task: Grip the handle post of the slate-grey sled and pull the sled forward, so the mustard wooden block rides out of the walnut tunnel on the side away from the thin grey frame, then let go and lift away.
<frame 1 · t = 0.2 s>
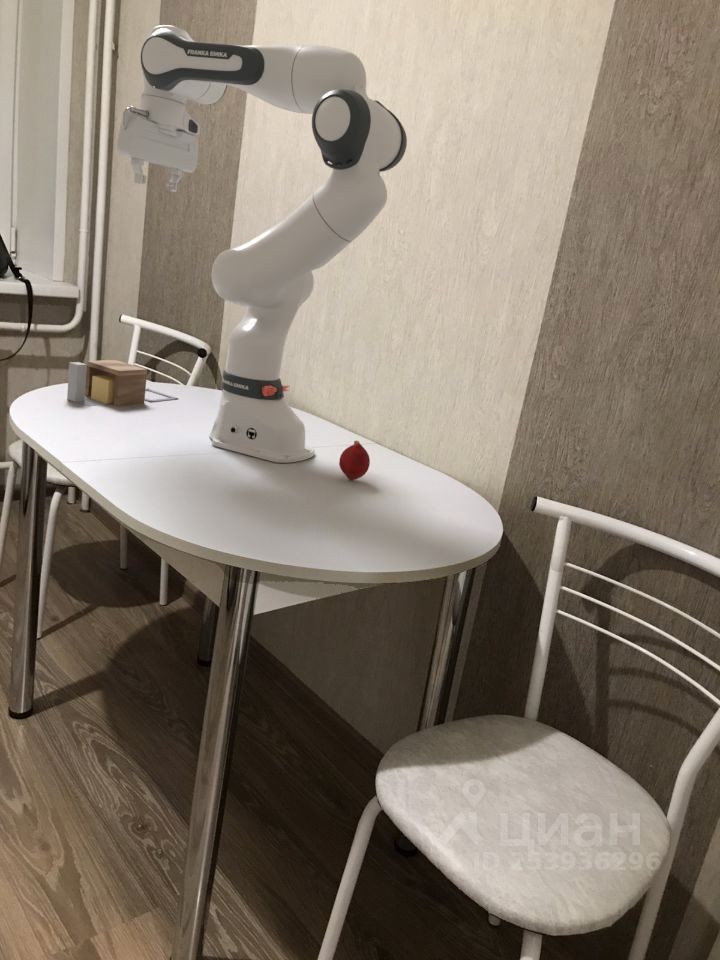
hand: (155, 187, 156), 47 cm above the table, tool pointing down, fingers open, 8 cm apart
tunnel: (114, 404, 166), on the table
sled: (106, 384, 163), point 5 cm above the table, slide at 0.0 cm, touching block
block: (107, 399, 164), point 1 cm above the table, touching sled
onion: (351, 481, 142), on the table
thin grey frame: (148, 400, 175), on the table
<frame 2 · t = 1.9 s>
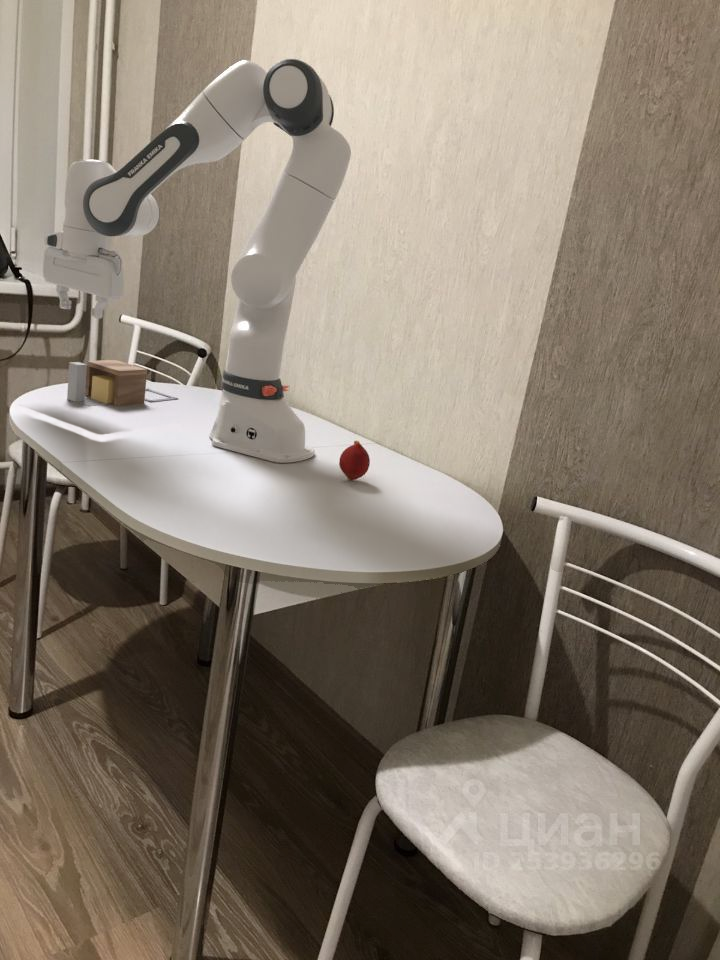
hand: (80, 313, 154), 20 cm above the table, tool pointing down, fingers open, 8 cm apart
nothing on the table moved.
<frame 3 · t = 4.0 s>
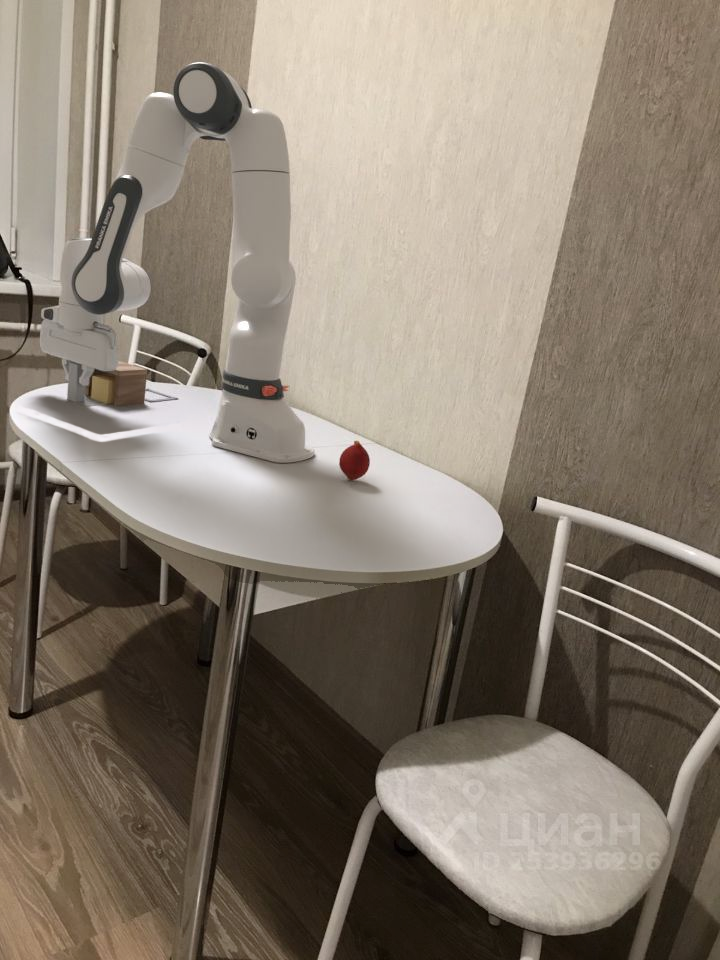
hand: (76, 382, 158), 5 cm above the table, tool pointing down, fingers closed on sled, 2 cm apart
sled: (106, 384, 163), point 5 cm above the table, slide at 0.0 cm, touching block, gripper
everything else where it was.
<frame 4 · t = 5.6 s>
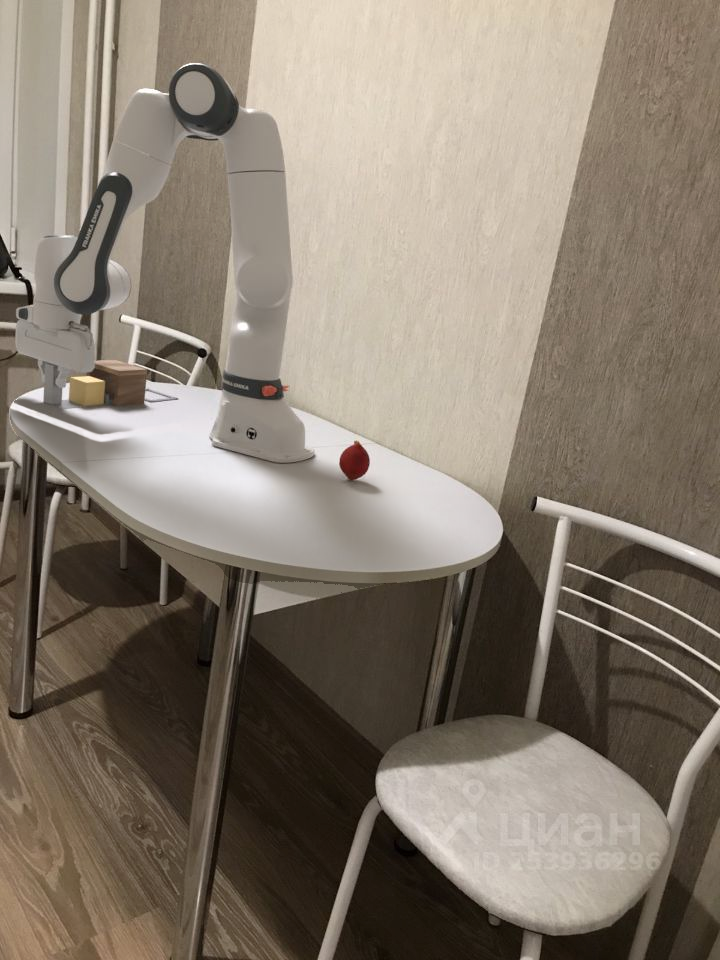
hand: (53, 384, 153), 5 cm above the table, tool pointing down, fingers closed on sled, 2 cm apart
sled: (84, 386, 157), point 5 cm above the table, slide at 6.0 cm, touching block, gripper
block: (86, 402, 159), point 1 cm above the table, touching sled
everything else where it was.
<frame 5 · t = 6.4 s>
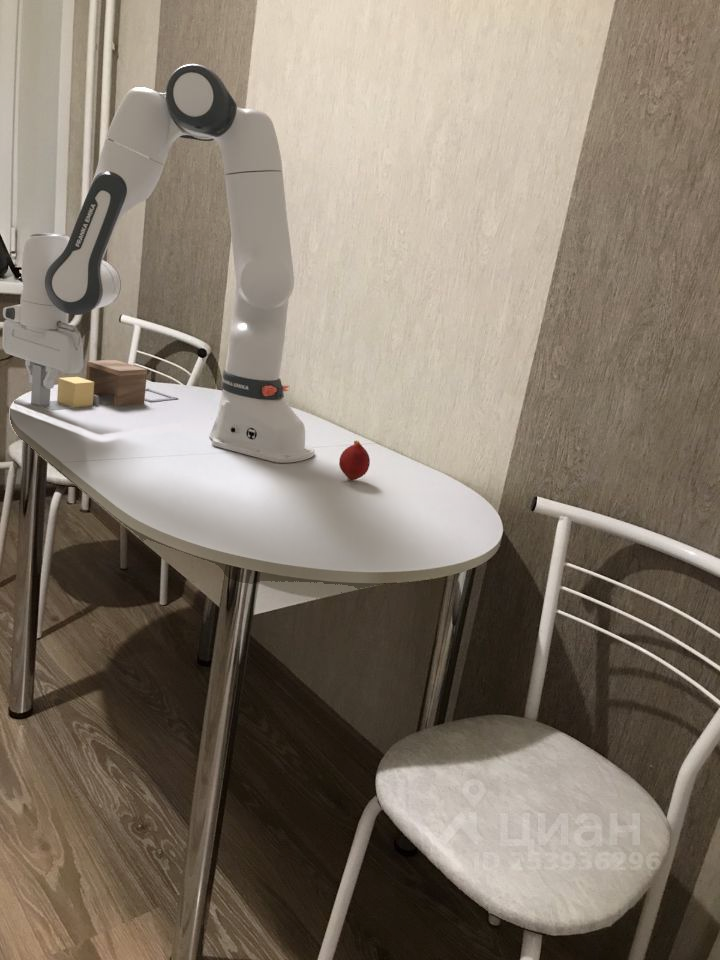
hand: (41, 385, 150), 5 cm above the table, tool pointing down, fingers closed on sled, 2 cm apart
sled: (73, 387, 155), point 5 cm above the table, slide at 8.9 cm, touching block, gripper
block: (75, 403, 156), point 1 cm above the table, touching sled
everything else where it was.
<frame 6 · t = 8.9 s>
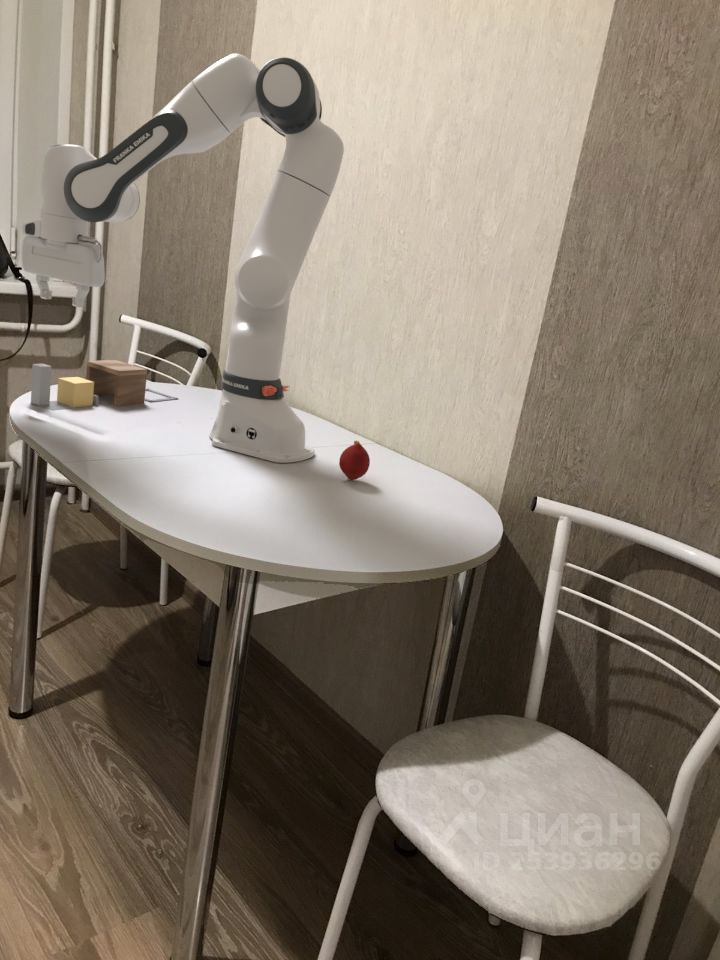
hand: (61, 302, 150), 22 cm above the table, tool pointing down, fingers open, 8 cm apart
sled: (73, 387, 155), point 5 cm above the table, slide at 9.0 cm, touching block
everything else where it was.
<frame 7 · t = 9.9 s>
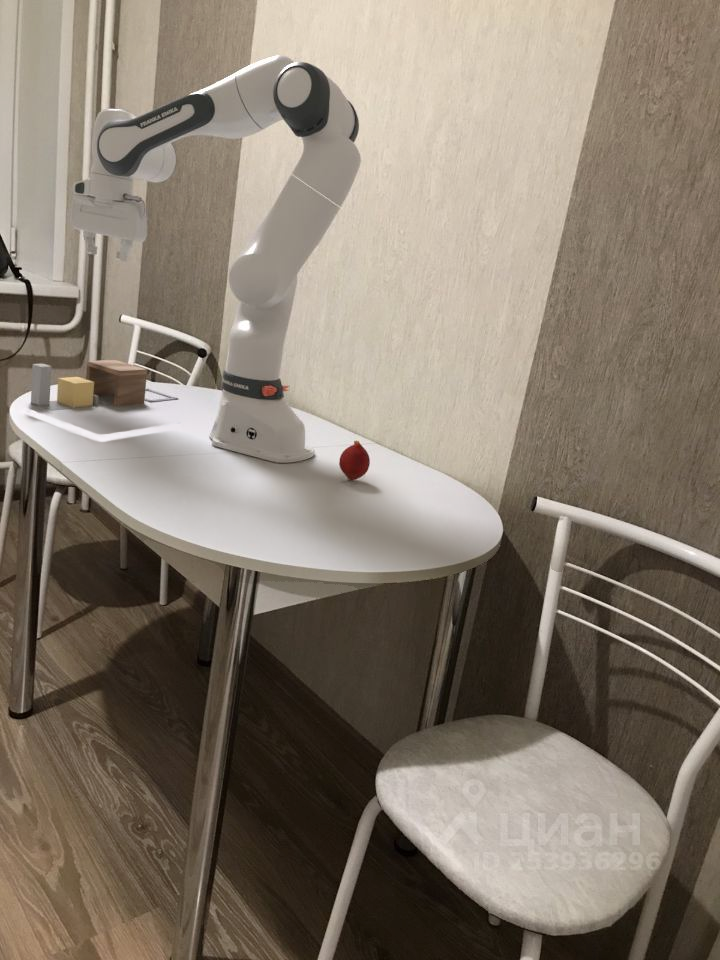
hand: (106, 257, 164), 31 cm above the table, tool pointing down, fingers open, 8 cm apart
nothing on the table moved.
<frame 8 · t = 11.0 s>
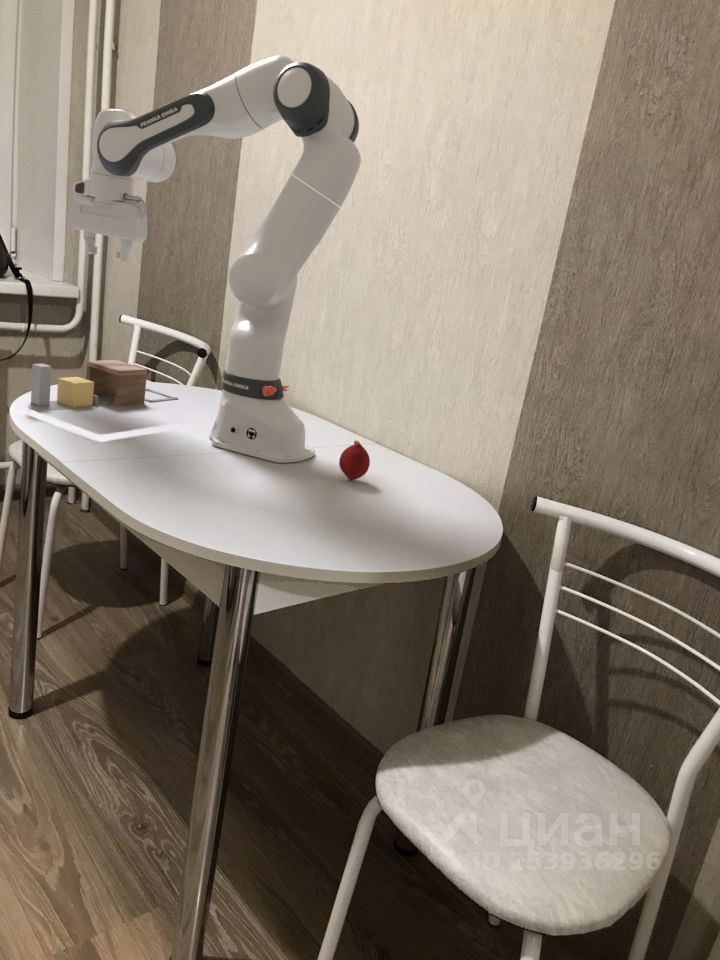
hand: (106, 257, 164), 31 cm above the table, tool pointing down, fingers open, 8 cm apart
nothing on the table moved.
at the end: block inside the target area (1.2 cm from its centre), point 1.3 cm above the table; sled slide at 9.0 cm; block tilted 0° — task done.
